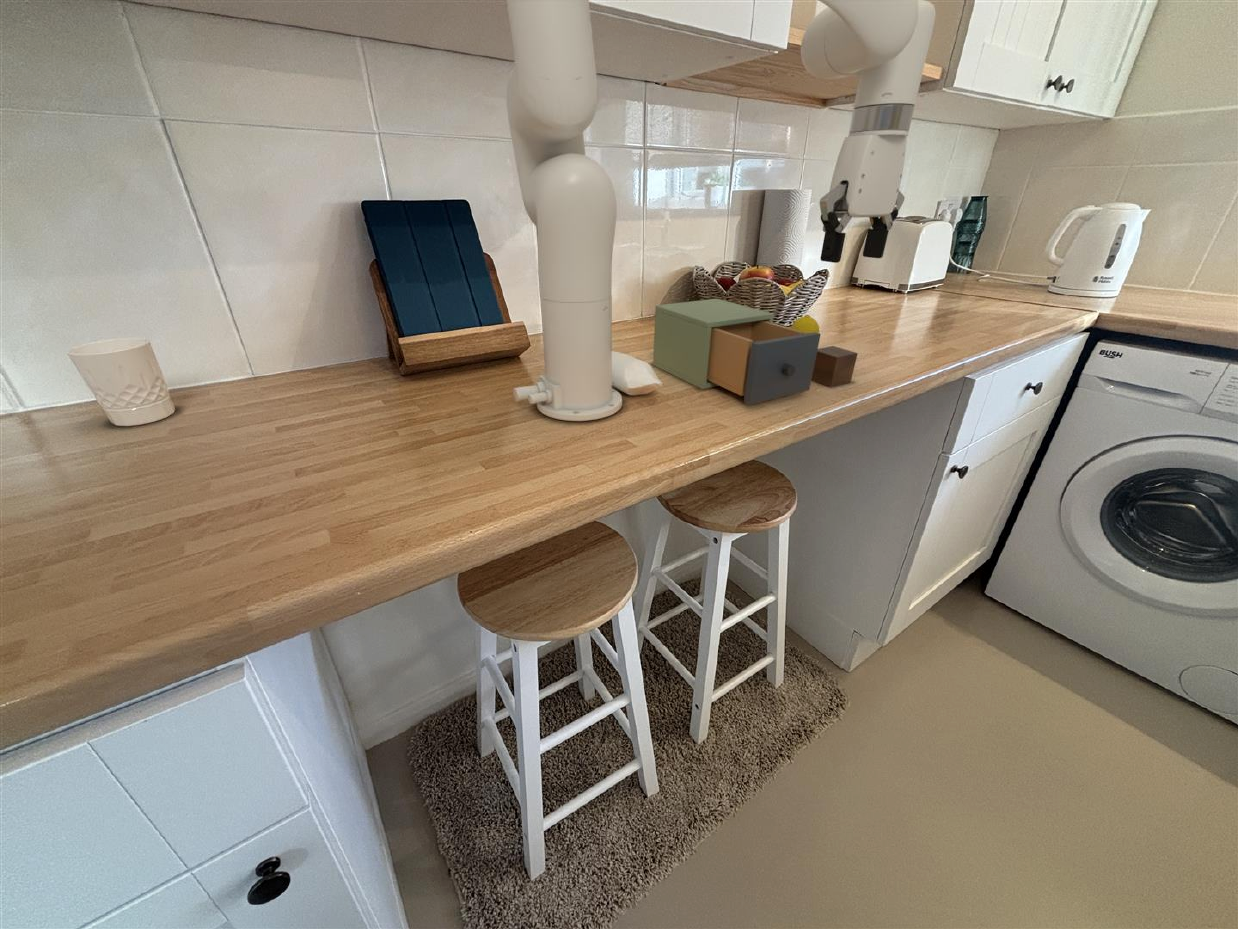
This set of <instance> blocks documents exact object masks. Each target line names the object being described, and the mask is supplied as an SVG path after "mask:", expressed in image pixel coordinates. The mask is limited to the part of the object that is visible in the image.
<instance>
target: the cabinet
mask: <svg viewBox="0 0 1238 929" xmlns="http://www.w3.org/2000/svg"><path fill="white" fill-rule="evenodd" d="M654 310H655V311H654V333H653V335H654V336H653V357H652V358H653V359H652V365H653V366H655V367H657V368H659V369H661V370H663V371H664V372H667V373H668V374H670V375H673V376H674V377H677V378H679V379H680V380H682V381H685V382H687V383H689V384H690V385H692V386H693V387H694V386H695V387H696V388H698V389H701V390H705V389H710V388H715V387H719V385H717V384H715V383H713V382H711V381H708V380H707V370H708V360H709V349H710V339H711V329H712V328H711V327H718V326H725V325H732V324H739V323H746V322H753V321H760V320H764V321H767V322H771V323H774V317H775V313H772V312H768V311H765V310H761V309H757V308H754V307H750V306H747V305H742V304H739V303H735V302H731V301H727V300H724V299H720V298H711V299H709V298H708V299H701V300H693V301H684V302H675V303H667V304H658V305H657V304H656V305H655V308H654Z"/></svg>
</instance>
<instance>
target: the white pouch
mask: <svg viewBox="0 0 1238 929" xmlns="http://www.w3.org/2000/svg"><path fill="white" fill-rule="evenodd" d="M662 387H663V383H662V381H661V380H660V379H659V377H658V376H657V372H656V371H655V370H654V368H653V367H652V366H651V365H650V363H648V362H646V361H644V360H642V359H639V358H636V357H634V356H632V355H629V354H627V353H623V352H619V351H616V350H612V388H613V389H615V390H617V391H620V392H622V393H624V394H627V395H628V396H640V395H648V394H649V393H652V392H653V391H655V390H656V389H660V388H662Z"/></svg>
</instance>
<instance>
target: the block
mask: <svg viewBox="0 0 1238 929" xmlns="http://www.w3.org/2000/svg"><path fill="white" fill-rule="evenodd" d="M858 355H859V353H858V352H855V351H852V350H848V349H845V348H842V347H838V346H835V345H831V346H825V347H818V350H817V355H816V360H815V364H814V369H813V374H812V379H811V381H812V382H813V381H814V382H816V383H819V384H822V385H824V386H827V387H829V388H833V387H836V386H841V385H844V384H845V385H846V384H848V383H851V382H852V378H853V374H854V370H855V366H856V362H857V359H858Z"/></svg>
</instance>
